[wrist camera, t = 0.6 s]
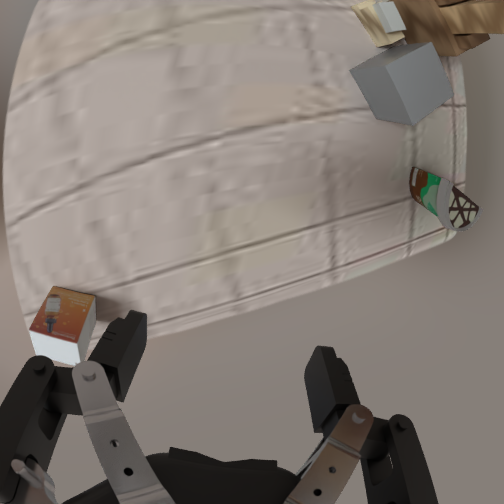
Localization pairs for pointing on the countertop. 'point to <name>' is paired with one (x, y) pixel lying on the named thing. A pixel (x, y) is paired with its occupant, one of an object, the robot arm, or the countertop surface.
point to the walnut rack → (435, 27)
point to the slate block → (404, 83)
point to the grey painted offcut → (389, 16)
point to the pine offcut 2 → (380, 27)
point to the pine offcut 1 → (370, 31)
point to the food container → (443, 200)
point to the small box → (64, 326)
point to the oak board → (475, 17)
